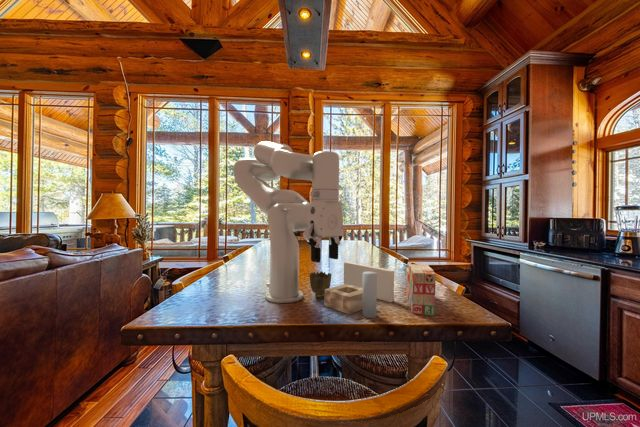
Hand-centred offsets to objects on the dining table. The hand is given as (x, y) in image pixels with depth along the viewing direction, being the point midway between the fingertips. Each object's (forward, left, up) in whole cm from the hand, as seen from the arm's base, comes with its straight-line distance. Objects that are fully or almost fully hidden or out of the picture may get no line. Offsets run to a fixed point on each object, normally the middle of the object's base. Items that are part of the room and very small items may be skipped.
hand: (324, 259), depth 81 cm
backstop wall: (-3, +24, -16) cm, 29 cm away
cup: (-12, +10, -16) cm, 22 cm away
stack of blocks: (+13, +29, -16) cm, 36 cm away
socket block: (0, +10, -16) cm, 19 cm away
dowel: (+9, +9, -16) cm, 20 cm away
